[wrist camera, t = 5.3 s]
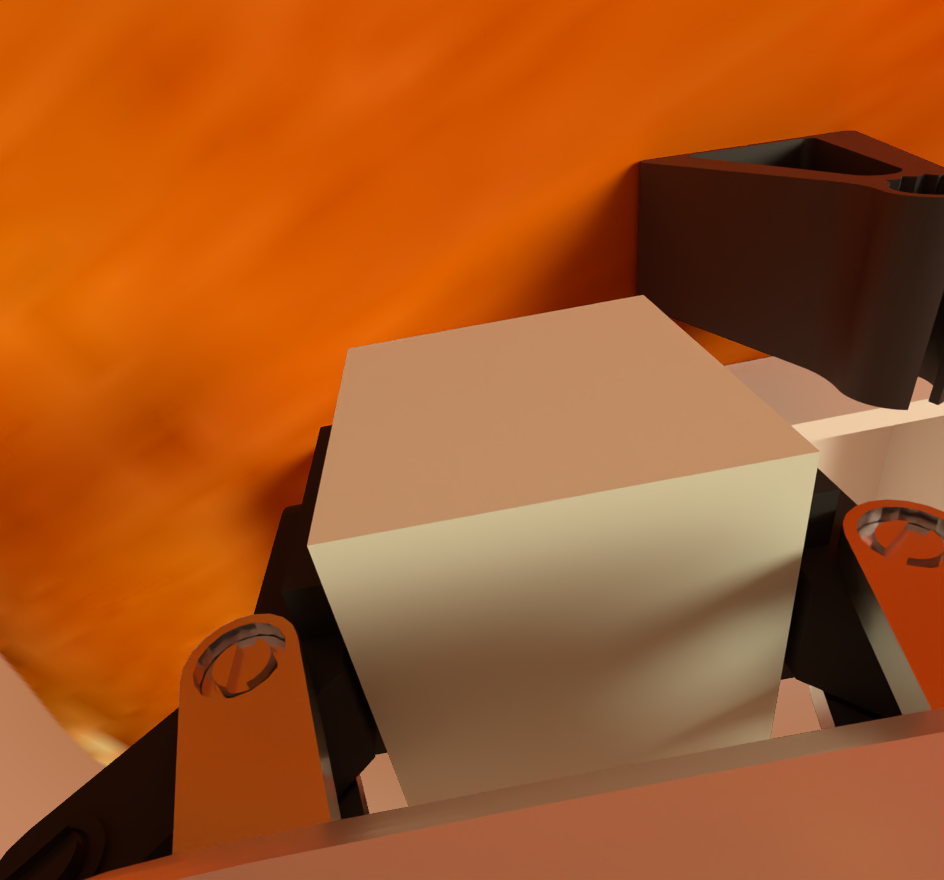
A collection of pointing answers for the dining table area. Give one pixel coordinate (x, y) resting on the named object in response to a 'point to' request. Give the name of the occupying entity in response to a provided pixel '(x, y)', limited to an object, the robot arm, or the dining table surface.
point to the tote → (858, 433)
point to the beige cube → (559, 546)
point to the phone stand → (805, 256)
